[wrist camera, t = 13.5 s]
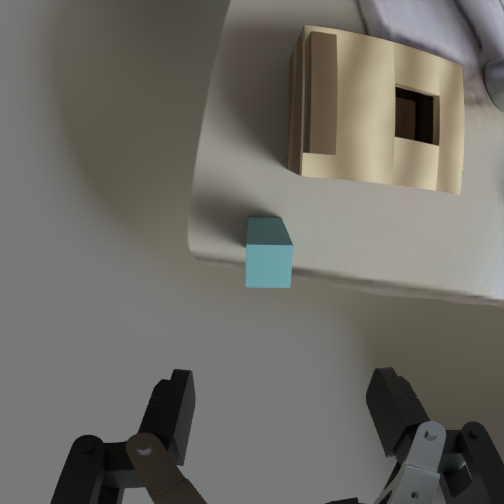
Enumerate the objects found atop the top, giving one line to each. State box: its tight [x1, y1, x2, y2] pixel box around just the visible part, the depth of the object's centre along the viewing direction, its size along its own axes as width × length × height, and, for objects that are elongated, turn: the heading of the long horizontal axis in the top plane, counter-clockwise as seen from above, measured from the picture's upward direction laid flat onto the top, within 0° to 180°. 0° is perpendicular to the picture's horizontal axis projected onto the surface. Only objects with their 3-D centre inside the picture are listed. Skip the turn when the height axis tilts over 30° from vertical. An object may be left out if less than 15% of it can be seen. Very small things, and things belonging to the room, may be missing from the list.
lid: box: [299, 25, 464, 195], centre depth 21 cm, size 17×14×4 cm
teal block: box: [246, 217, 293, 288], centre depth 31 cm, size 4×4×11 cm
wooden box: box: [287, 31, 434, 175], centre depth 27 cm, size 17×14×9 cm
